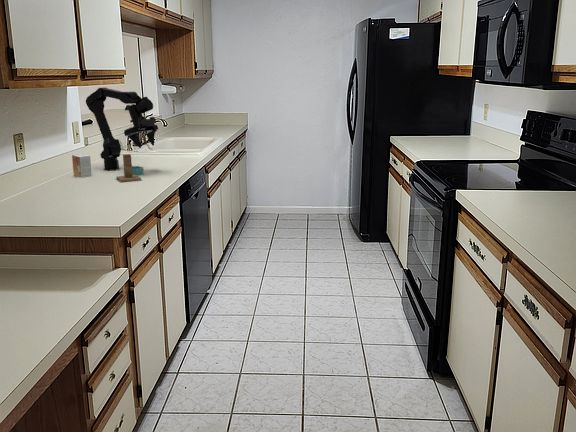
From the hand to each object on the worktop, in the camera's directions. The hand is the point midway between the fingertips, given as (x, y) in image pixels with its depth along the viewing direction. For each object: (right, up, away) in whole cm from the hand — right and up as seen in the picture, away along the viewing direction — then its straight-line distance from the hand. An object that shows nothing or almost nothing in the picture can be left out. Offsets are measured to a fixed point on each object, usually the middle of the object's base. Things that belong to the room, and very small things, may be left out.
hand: (147, 146), depth 275 cm
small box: (-31, -15, -2) cm, 35 cm away
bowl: (-7, -14, +2) cm, 16 cm away
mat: (-6, -18, -12) cm, 22 cm away
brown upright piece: (-6, -17, -12) cm, 22 cm away
